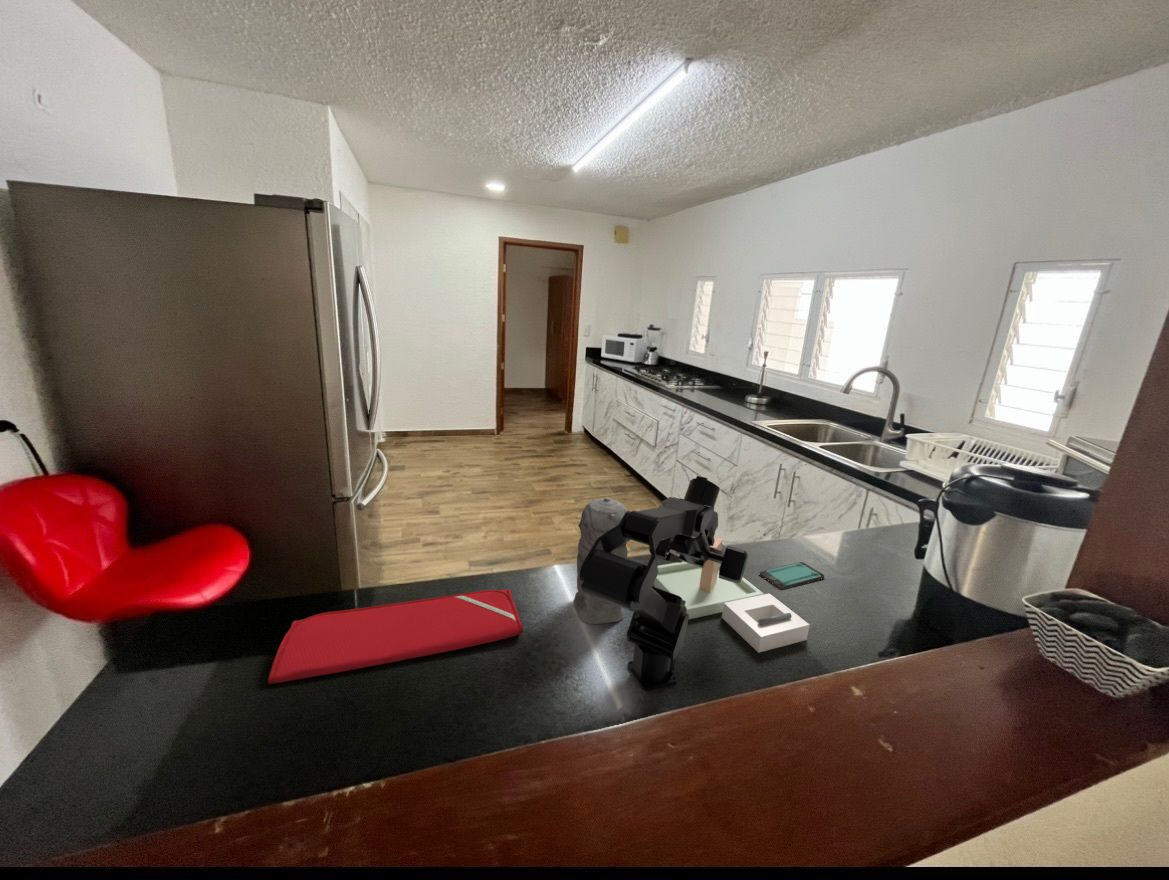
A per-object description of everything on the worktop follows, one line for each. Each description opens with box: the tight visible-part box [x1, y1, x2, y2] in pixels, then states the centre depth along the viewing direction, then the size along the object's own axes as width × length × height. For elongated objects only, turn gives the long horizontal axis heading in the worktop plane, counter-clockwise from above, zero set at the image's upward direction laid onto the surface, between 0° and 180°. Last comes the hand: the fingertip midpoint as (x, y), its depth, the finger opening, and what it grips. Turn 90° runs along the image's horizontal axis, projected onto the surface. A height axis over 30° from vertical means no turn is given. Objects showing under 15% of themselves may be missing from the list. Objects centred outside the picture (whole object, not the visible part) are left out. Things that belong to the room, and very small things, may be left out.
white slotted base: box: [721, 593, 811, 653], centre depth 93 cm, size 12×11×4 cm
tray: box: [653, 561, 765, 620], centre depth 106 cm, size 20×17×2 cm
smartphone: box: [759, 561, 825, 590], centre depth 114 cm, size 7×1×15 cm
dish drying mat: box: [267, 588, 524, 685], centre depth 86 cm, size 16×41×4 cm, turn 109°
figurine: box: [572, 497, 631, 625], centre depth 94 cm, size 10×14×25 cm
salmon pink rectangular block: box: [699, 536, 723, 592], centre depth 105 cm, size 5×2×11 cm, turn 148°
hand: (702, 567), depth 98 cm, fingers open, 9 cm apart
